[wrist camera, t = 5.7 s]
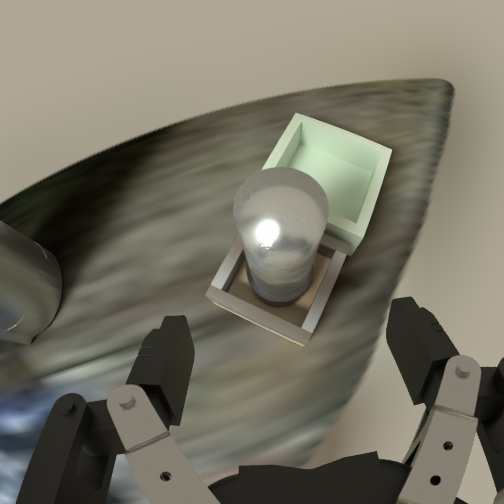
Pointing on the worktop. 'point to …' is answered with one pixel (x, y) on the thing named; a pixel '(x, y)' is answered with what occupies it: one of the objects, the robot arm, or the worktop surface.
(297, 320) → the socket block
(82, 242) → the worktop surface
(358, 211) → the bin
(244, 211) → the shiny silver cylinder
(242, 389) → the worktop surface
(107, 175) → the worktop surface
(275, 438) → the worktop surface
